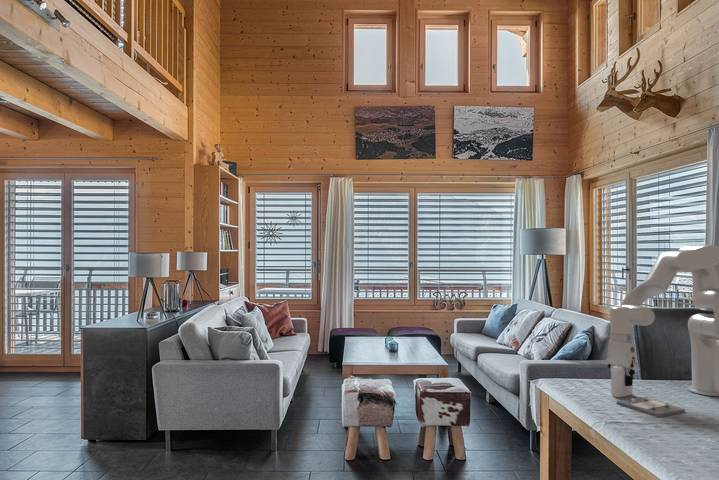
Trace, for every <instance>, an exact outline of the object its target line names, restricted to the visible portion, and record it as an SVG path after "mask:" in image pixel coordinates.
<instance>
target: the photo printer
mask: <svg viewBox="0 0 719 480" xmlns="http://www.w3.org/2000/svg"><path fill="white" fill-rule="evenodd" d="M629 372H630V370H629ZM625 376H627V374H626V371H625V368H623V367H622V366H620V365H616V366H614V367H613V368H612V370H611V372H610V377H611V378H610V380H611V382H610V383H611V385H610V386H611V389H610V391H611V396H612V397H615V398H620V399H621V398H624V397H627V396H631V395H634V394H633V393H634V391H633V388H634V386H633V385H632V386H626V385H625Z"/></svg>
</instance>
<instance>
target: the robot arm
mask: <svg viewBox="0 0 719 480" xmlns="http://www.w3.org/2000/svg"><path fill="white" fill-rule="evenodd" d="M718 264H719V246H717V245H714V244H691V245H690V244H688V245H684V246H683V245H682V246H681V247H679V248H678V250H670V251H664V252H662V253H660V254H659V255H658V257H657V259H656V260H655V262H654V264H653V265H652V268H650V271H649V272H648V274H647V276H646V277H645V279H644V280H643V281H642V282H641V283H639V284H638V285H637V286H634V287H633V288H632V289H631V290H630V291H629V292H628V293H627V294H626V296H625V297H624V299H623V300H622V302H621V303H620V305H615V306H612V307H610V309H609V313H610V314H609V318H610V319H609V320H610V321H609V322H610V323H609V325H610V333H609V334H610V339H609V341H608V346H607V357H606V358H605V359H604V361H603V362H604V364H605V365H607V366H606V367H608V369H609V371H610V373H611V370H612V368H613V367H614V366H616V365H620V366H622V367H623V368H625V371H626V374H627V376H625V385H626V386H632V385H633V382H634V381H633V380H634V377H633V376H634V375H635V374H636V373H637V372H639V371H641V367H640V366H639V364H638V355H637V349H636V345H635V342H634V340H635V337H634V336H633V327H632V326H633V325H635V326H650V325H652V324H653V323H654V321H655V318H656V315H655V312H654V310H652V309H651V308H649V307H647V306H642V305H643V303H645V302H646V301H647V300H649V299H651V298H654V297H656V296H659V295H661V294H664V293H666V292H667V291H668V289H669V287H670V286H671V284H672V282H673V281H674V279H675V277H676V276H677V274H678V273H691V276H692V277H691V278H692V280H691V281H692V291H691V293H692V295H691V296H692V299H691V300H692V304H693V306H694V308H696V309H698V310H701V311H707V312H713V314H707V313H695V314H693V315H691V316H690V317H689V318H688V321H687V329H688V335H689V337H690V348H691V353H690V354H691V355H690V356H691V359H690V360H691V385H688V386H687V390H688V391H689V392H691V393H694V394H698V395H703V396H711V397H719V342H718V341H719V277H718V272H717V271H716V268H715V266H717V265H718ZM629 370H630V372H629Z"/></svg>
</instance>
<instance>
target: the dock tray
mask: <svg viewBox="0 0 719 480" xmlns="http://www.w3.org/2000/svg"><path fill="white" fill-rule="evenodd" d="M616 405H618V406H619V405H620V406H622V405H623V406H622V407H625V408H628V409H631V410H635V411H638V412H642V413H645V414H648V415H650V416H655V417H657V418H660V417H661V418H662V417H666V416H671V415H677V414H682V413H683V414H684V413H685V412H686V409H685V408H683V407H678V406H675V405H673V404H672V405H671V404H670V403H669V402H667V401H665V402H662V401H657V400H654V399H651V398H649V396H640V397H639V396H638V397H635V398H634V397H633V398H627V399H622V400H621V399H620V400H616Z"/></svg>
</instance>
